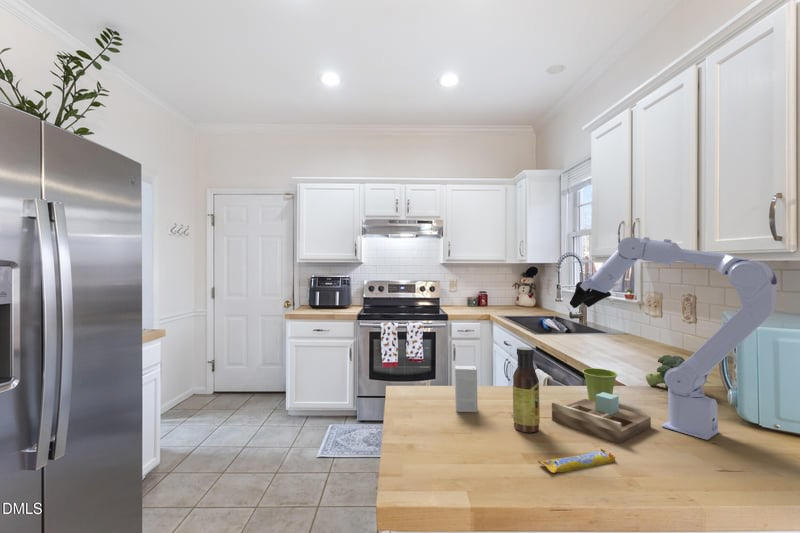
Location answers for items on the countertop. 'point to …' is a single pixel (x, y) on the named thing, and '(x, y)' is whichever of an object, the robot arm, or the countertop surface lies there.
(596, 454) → the candy bar
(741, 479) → the countertop surface
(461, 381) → the skincare box
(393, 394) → the countertop surface
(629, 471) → the countertop surface
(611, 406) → the block
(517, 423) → the sauce bottle
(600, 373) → the plant pot
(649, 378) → the vegetable
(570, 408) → the tray
